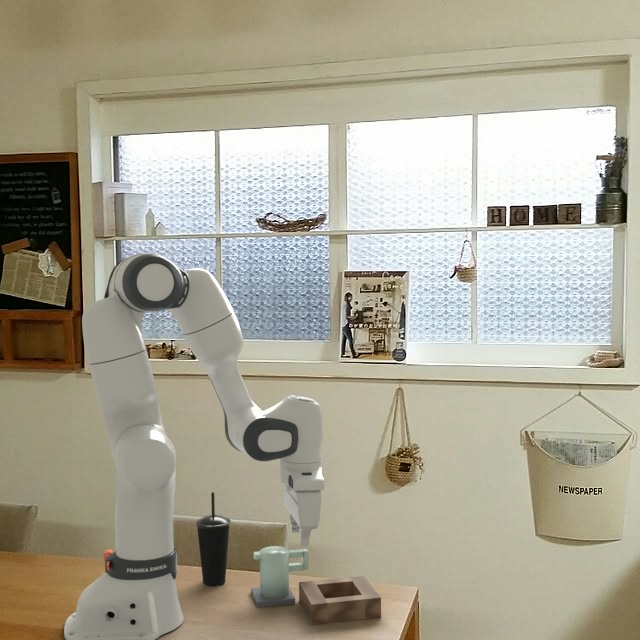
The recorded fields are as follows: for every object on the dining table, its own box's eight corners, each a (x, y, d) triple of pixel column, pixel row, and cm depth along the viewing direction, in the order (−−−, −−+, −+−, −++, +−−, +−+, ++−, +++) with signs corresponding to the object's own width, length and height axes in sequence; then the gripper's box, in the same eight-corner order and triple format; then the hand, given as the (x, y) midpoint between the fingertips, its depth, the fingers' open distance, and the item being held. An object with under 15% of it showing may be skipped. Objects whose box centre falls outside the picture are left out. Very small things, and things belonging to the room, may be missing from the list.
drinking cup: (225, 590, 178) (224, 498, 176) (191, 587, 179) (190, 496, 178) (236, 577, 185) (234, 489, 184) (203, 575, 187) (202, 487, 186)
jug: (256, 600, 169) (256, 557, 169) (252, 589, 175) (252, 547, 174) (310, 595, 171) (310, 552, 171) (305, 584, 177) (304, 543, 177)
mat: (256, 607, 168) (256, 602, 168) (251, 592, 176) (251, 588, 176) (295, 603, 170) (295, 598, 170) (288, 589, 178) (288, 584, 178)
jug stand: (311, 624, 159) (311, 604, 159) (299, 601, 171) (298, 582, 171) (381, 617, 163) (381, 597, 162) (364, 594, 174) (364, 576, 174)
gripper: (277, 462, 182) (276, 524, 183) (295, 484, 162) (293, 554, 163) (305, 461, 184) (303, 523, 184) (326, 484, 164) (325, 552, 164)
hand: (299, 538), depth 173 cm, fingers open, 8 cm apart
